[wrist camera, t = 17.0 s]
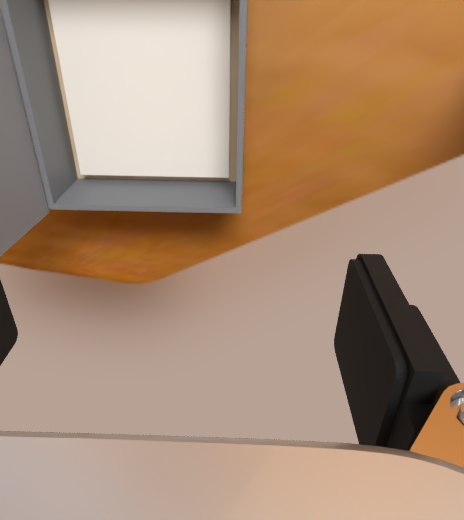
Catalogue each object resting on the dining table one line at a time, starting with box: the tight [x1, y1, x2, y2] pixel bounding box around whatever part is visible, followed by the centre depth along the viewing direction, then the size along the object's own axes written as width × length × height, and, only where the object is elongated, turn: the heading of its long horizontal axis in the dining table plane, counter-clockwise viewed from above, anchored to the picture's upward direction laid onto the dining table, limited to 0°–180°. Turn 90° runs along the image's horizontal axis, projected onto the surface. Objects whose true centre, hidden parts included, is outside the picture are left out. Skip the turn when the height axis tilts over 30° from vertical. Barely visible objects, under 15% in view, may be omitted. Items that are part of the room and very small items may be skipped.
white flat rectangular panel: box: [48, 0, 231, 178], centre depth 43 cm, size 17×21×1 cm
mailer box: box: [0, 0, 247, 214], centre depth 40 cm, size 20×24×8 cm
